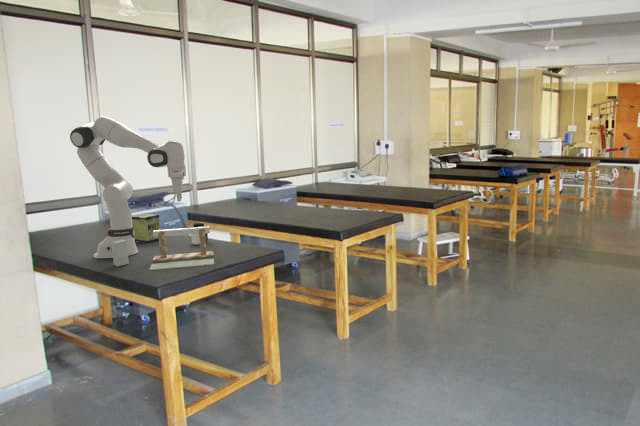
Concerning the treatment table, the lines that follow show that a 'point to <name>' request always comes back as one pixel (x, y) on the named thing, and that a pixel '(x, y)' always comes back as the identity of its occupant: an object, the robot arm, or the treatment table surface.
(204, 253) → the hook rack
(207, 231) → the aluminium rail
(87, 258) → the treatment table surface
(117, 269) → the treatment table surface
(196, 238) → the medicine bottle
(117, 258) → the skincare box
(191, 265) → the sage mat
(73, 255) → the treatment table surface
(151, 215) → the protein box
